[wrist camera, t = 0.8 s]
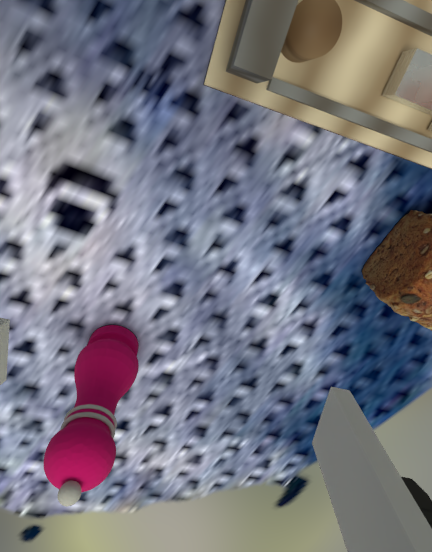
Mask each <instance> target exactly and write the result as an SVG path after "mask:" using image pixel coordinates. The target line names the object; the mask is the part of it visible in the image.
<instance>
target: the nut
mask: <svg viewBox="0 0 432 552" xmlns="http://www.w3.org/2000/svg"><path fill="white" fill-rule="evenodd" d="M341 30H342V14H341V10H340V7H339V5H338V4H337V2H336V1H335V0H303V1H301V2H300V3H299V4H298V5H297V6H296V9H295V12H294V15H293V18H292V21H291V24H290V27H289V29H288V32H287V35H286V38H285V41H284V44H283V47H282V50H281V53H282V54H283V56H284V57H285V58H286V59H288V60H289V61H291V62H295V63H301V62H305V61H308V60H312V59H315V58H318V57H321V56H323V55H325V54H327V53H328V52H329V51H330V50H331V49H332V48H333V47H334V46H335V44H336V43H337V41H338V39H339V37H340V34H341Z"/></svg>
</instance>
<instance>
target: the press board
mask: <svg viewBox="0 0 432 552" xmlns="http://www.w3.org/2000/svg"><path fill="white" fill-rule="evenodd" d="M301 1H303V0H226V2H225V6H224V10H223V13H222V17H221V21H220V25H219V28H218V32H217V36H216V40H215V44H214V47H213V51H212V55H211V59H210V63H209V66H208V70H207V74H206V78H205V81H204V85H205V86H208V87H211V88H214V89H216V90H219V91H222V92H224V93H227V94H230V95H233V96H235V97H238V98H241V99H243V100H246V101H249V102H252V103H254V104H257V105H260V106H262V107H265V108H268V109H271V110H273V111H276V112H279V113H281V114H284V115H287V116H290V117H292V118H295V119H298V120H300V121H303V122H306V123H309V124H311V125H314V126H317V127H319V128H322V129H325V130H328V131H330V132H333V133H336V134H338V135H341V136H344V137H347V138H349V139H352V140H355V141H357V142H360V143H363V144H366V145H368V146H371V147H374V148H376V149H379V150H382V151H385V152H387V153H390V154H393V155H395V156H398V157H401V158H403V159H406V160H409V161H412V162H414V163H417V164H420V165H422V166H425V167H428V168H431V169H432V131H429V130H428V128H429V126H430V124H431V122H432V116H431V115H429V114H426V113H424V112H421V111H419V110H416V109H414V108H412V107H409V106H407V105H404V104H402V103H399V102H397V101H394V100H392V99H389V98H387V97H385V96H382V94H383V92H384V90H385V87H386V85H387V83H388V81H389V79H390V77H391V75H392V73H393V70H394V68H395V66H396V64H397V62H398V60H399V58H400V56H401V53H402V52H403V51H407V50H411V49H416V48H418V49H420V50H422V51H425V52H427V53H429V54H431V55H432V0H335V1H336V2H337V4H338V5H339V7H340V10H341V14H342V30H341V34H340V37H339V39H338V41H337V43H336V44H335V46H334V47H333V48H332V49H331V50H330V51H329V52H328V53H327V54H325V55H323V56H321V57H318V58H315V59H312V60H308V61H305V62H301V63H295V62H291V61H289V60H288V59H286V58H285V57H284V56H283V54H282V53H281V50H282V47H283V44H284V41H285V38H286V35H287V32H288V29H289V27H290V24H291V21H292V18H293V15H294V12H295V9H296V6H297V5H298V4H299V3H300V2H301Z"/></svg>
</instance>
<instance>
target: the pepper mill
mask: <svg viewBox="0 0 432 552" xmlns="http://www.w3.org/2000/svg"><path fill="white" fill-rule="evenodd" d="M137 352H138V341H137V338H136V336H135V335H134V334H133V333H132V332H131V331H130V330H128V329H126V328H124V327H122V326H117V325H107V326H103V327H100V328H99V329H97V330H96V331H95V332H94V333H93V334H92V335H91V337H90V340H89V342H88V345H87V346H86V347H85V348H84V349H83V350H82V351H81V352H80V354H79V355H78V358H77V361H76V365H75V383H76V388H77V400H76V404H75V407H74V408H73V409H71V410H70V411H69V412H68V413H67V414H66V416H65V418H64V422H63V424H62V426H61V430H60V431H59V432H58V433H57V434H56V435H55V436H54V437H53V438H52V439H51V441H50V443H49V444H48V447H47V449H46V452H45V457H44V471H45V474H46V476H47V478H48V480H49V481H50V482H51V483H52V484H53V485H54V486H55V487H57V488H58V489H59V492H58V500H59V502H60V503H61V504H62V505H63V506H71V505H73V504H75V503H76V502H77V501H78V500H79V498H80V496H81V492H84V491H88V490H91V489H93V488H94V487H96V486H98V485H99V484H100V483H101V482H102V481H103V480H104V479H105V478H106V477H107V476H108V474H109V473H110V471H111V469H112V467H113V464H114V460H115V456H116V446H115V443H114V440H113V438H114V435H115V429H116V426H117V422H116V418H115V416H114V412H115V409H116V406H117V403H118V401H119V400H120V398H121V397H122V396H123V395H124V394H125V393H126V392H127V391H128V390H129V389H130V387H131V386H132V384H133V382H134V381H135V378H136V375H137V372H138V359H137Z"/></svg>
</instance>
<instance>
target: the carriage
mask: <svg viewBox="0 0 432 552" xmlns="http://www.w3.org/2000/svg"><path fill="white" fill-rule="evenodd" d="M382 96H385V97H387V98H389V99H392V100H394V101H397V102H399V103H402V104H404V105H407V106H409V107H412V108H414V109H416V110H419V111H421V112H424V113H426V114H429V115H431V116H432V55H431V54H429V53H427V52H425V51H422V50H420V49H418V48H416V49H411V50H407V51H403V52H402V53H401V56H400V58H399V60H398V62H397V64H396V66H395V68H394V70H393V73H392V75H391V77H390V79H389V81H388V83H387V85H386V87H385V90H384V92H383V94H382ZM428 130H429V131H432V122H431V124H430V126H429V128H428Z"/></svg>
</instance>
